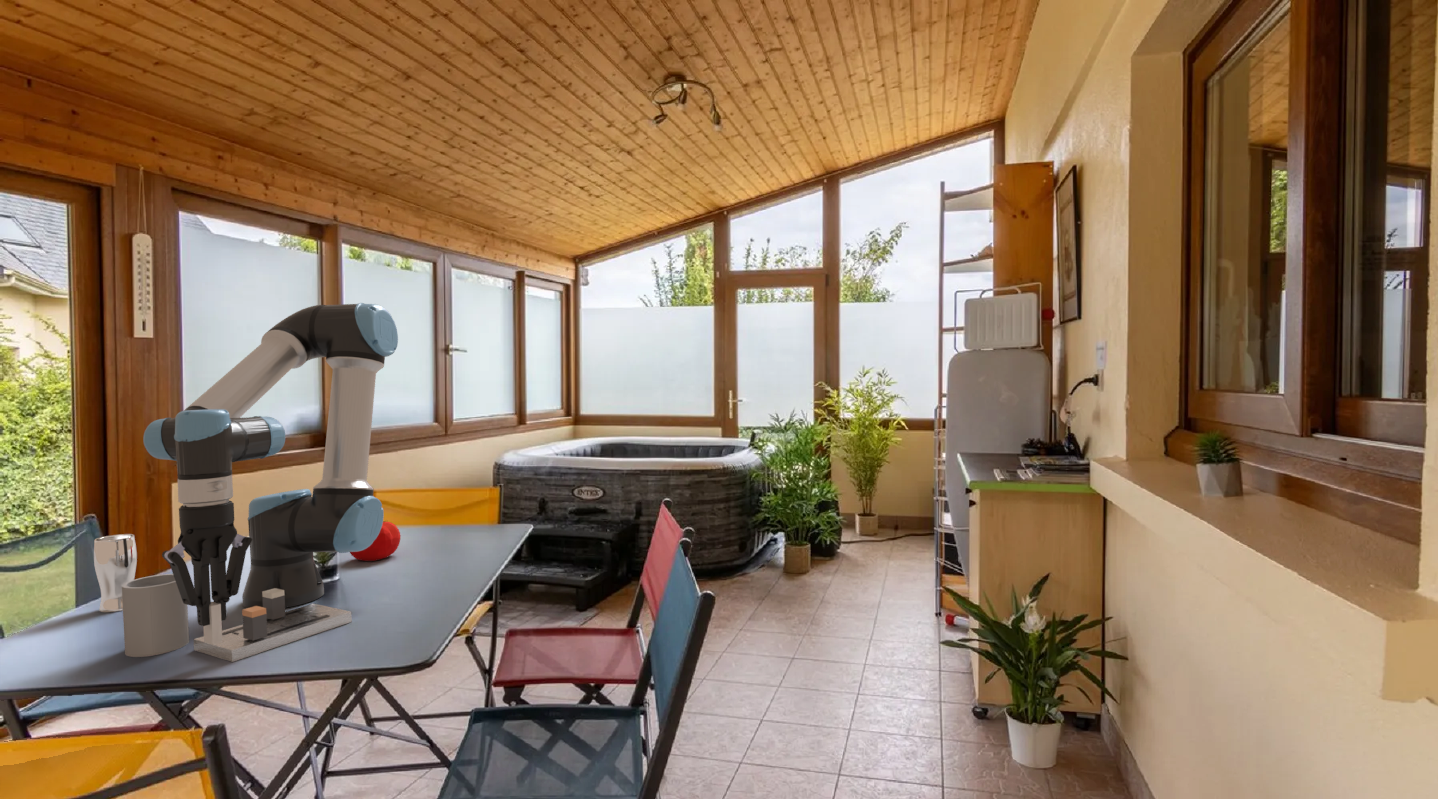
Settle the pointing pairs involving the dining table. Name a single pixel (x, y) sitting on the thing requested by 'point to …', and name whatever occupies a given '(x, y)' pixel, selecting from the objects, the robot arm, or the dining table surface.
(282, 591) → the fader far
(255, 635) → the fader near
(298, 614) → the console
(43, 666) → the dining table surface
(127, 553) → the beer glass
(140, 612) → the cup
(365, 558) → the tomato
